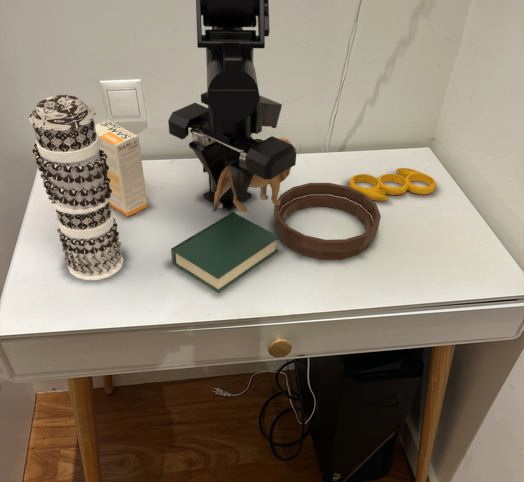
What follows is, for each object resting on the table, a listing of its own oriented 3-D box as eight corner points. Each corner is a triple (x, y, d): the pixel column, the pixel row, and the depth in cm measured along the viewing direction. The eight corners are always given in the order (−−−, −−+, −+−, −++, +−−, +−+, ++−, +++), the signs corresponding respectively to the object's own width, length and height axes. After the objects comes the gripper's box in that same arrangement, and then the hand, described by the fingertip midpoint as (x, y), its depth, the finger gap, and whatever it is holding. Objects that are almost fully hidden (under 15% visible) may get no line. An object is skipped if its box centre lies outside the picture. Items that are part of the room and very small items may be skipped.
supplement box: (149, 206, 99) (140, 135, 90) (127, 217, 97) (115, 145, 87) (120, 188, 103) (109, 118, 94) (98, 198, 101) (84, 127, 91)
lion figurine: (276, 190, 91) (279, 132, 86) (299, 200, 88) (304, 140, 82) (202, 210, 83) (200, 147, 78) (224, 221, 80) (224, 157, 74)
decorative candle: (55, 258, 89) (8, 98, 70) (108, 238, 93) (77, 82, 74) (80, 289, 84) (37, 127, 66) (136, 267, 88) (110, 108, 70)
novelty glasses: (442, 201, 104) (426, 173, 111) (444, 194, 103) (428, 166, 110) (353, 203, 103) (343, 175, 109) (355, 195, 101) (344, 167, 108)
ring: (252, 231, 95) (253, 211, 92) (314, 191, 105) (317, 172, 102) (336, 276, 88) (339, 256, 85) (394, 229, 97) (399, 209, 94)
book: (172, 264, 89) (170, 248, 87) (232, 226, 96) (232, 211, 94) (218, 293, 84) (218, 277, 82) (278, 251, 92) (279, 236, 90)
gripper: (327, 88, 71) (314, 197, 83) (219, 49, 79) (221, 153, 91) (271, 117, 65) (265, 229, 77) (160, 71, 73) (170, 179, 85)
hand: (230, 194), depth 82 cm, fingers closed on lion figurine, 4 cm apart
